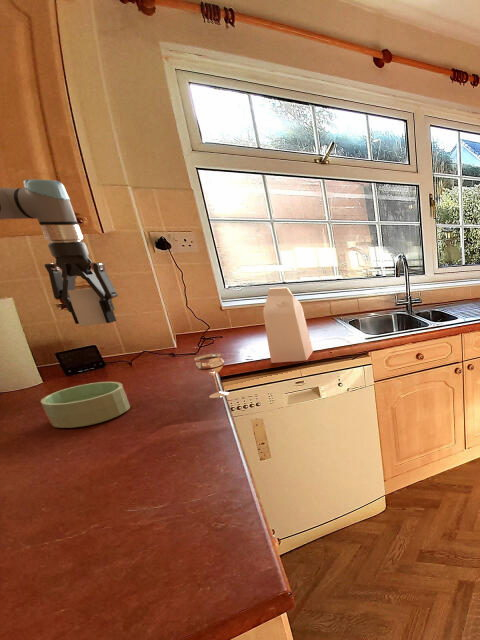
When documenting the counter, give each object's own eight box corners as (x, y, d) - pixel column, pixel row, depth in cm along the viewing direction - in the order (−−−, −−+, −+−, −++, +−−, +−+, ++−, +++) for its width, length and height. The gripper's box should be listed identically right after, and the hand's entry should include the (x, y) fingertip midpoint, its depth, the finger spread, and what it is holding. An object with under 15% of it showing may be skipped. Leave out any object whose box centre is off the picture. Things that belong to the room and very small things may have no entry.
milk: (313, 351, 167) (300, 285, 158) (306, 360, 157) (292, 289, 147) (280, 353, 165) (265, 286, 156) (271, 362, 155) (254, 291, 145)
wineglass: (234, 389, 131) (224, 352, 127) (228, 397, 125) (217, 359, 121) (209, 392, 129) (198, 354, 125) (202, 400, 123) (190, 361, 119)
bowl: (34, 431, 106) (22, 406, 103) (86, 405, 120) (76, 382, 118) (100, 428, 107) (90, 403, 105) (144, 403, 122) (136, 380, 119)
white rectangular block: (111, 322, 126) (98, 288, 122) (80, 326, 122) (66, 291, 118) (112, 320, 129) (100, 287, 125) (82, 323, 125) (68, 289, 121)
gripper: (116, 240, 121) (142, 318, 130) (37, 241, 119) (69, 320, 128) (95, 241, 114) (124, 324, 123) (11, 242, 112) (46, 326, 121)
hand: (96, 322), depth 125 cm, fingers closed on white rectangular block, 8 cm apart
